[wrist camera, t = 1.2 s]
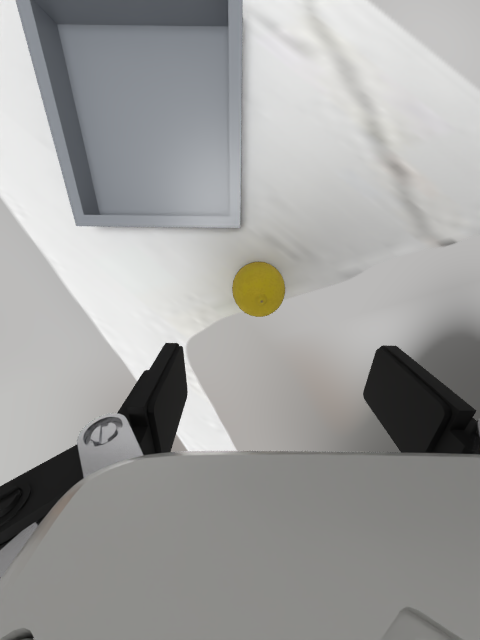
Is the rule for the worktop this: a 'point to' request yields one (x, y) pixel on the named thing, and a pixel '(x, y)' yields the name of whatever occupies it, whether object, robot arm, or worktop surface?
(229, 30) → the tray
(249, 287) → the lemon
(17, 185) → the worktop surface
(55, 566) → the robot arm
